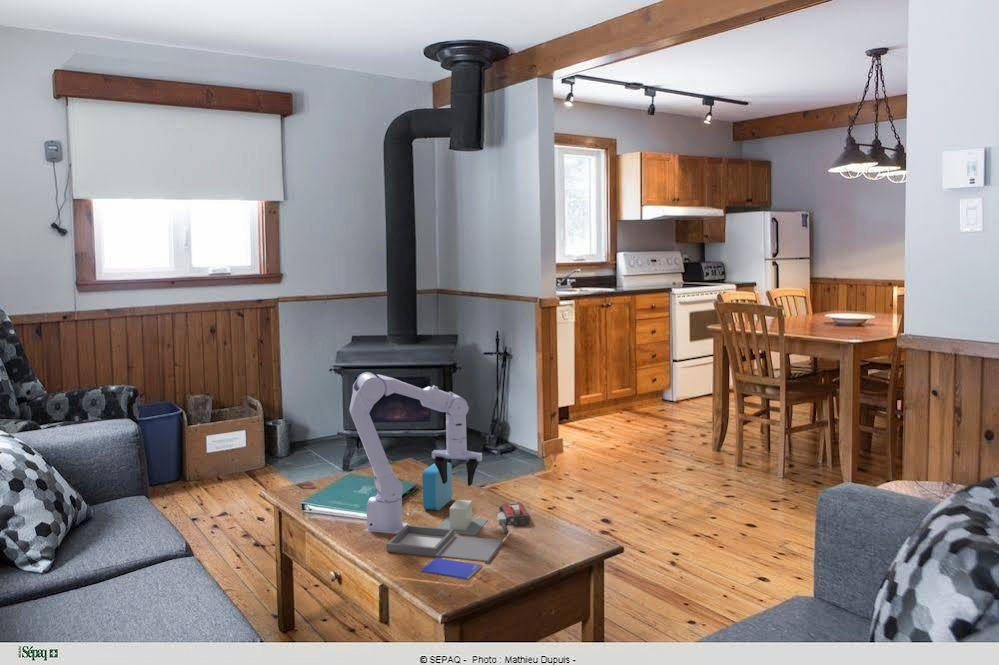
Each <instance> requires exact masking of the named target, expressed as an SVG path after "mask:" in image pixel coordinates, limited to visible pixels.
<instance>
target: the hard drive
mask: <svg viewBox="0 0 999 665" xmlns="http://www.w3.org/2000/svg"><path fill="white" fill-rule="evenodd" d="M481 568H482V564H477V563H471V562H466V561H459V560H453V559H448V558H446V559H445V558H441V557H436V558H434V559H433V560H431V561H430V562H428V564H426V565H425V566H423V568H421V570H420V572H421V573H426V574H432V575H437V576H443V577H450V578H456V579H460V580H465V581H466V580H468V579H470V578H471V577H472V576H473V575H474V574H475V573H476V572H477V571H478V570H480V569H481Z"/></svg>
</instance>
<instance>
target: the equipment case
mask: <svg viewBox="0 0 999 665" xmlns="http://www.w3.org/2000/svg"><path fill="white" fill-rule="evenodd" d="M503 543H504V540H503V539H496V538H486V537H476V536H464V535H463V536H462V535H455V533H454V529H445V528H437V527H432V526H431V527H430V526H424V525H423V526H422V525H410V524H408V525H407V526H405V527H404V528H403V529H402V530H401V531H400V532H399V533H397V534H395V536H393V537H392V538H391V539H389V541H387V542H386V546H385V547H386V552H389V553H390V552H391V553H399V554H409V555H417V556H418V555H419V556H429V557H436V558H446V559H456V560H467V561H477V562H484V564H489V563H490V561H491V559H493V557H494V556H495V554H496V553H497V552H498V550H499V549H500V548H501V546H502V545H503Z"/></svg>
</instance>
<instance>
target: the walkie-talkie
mask: <svg viewBox="0 0 999 665" xmlns="http://www.w3.org/2000/svg"><path fill="white" fill-rule="evenodd" d="M498 510H499V513H498V514H497V515H496V517H497V518H496V519H497V520H496V521H497V524H498V525H501V526H502V527H501V528H502V529H503V532H504V533H505V534H509V530H508V528H507V525H509V526H510V525H513V526H526V525H529V524H530V515H529V513H528V511H527V509H526V508H525V506H524V504H523V503H521V502H520V501H515V502H504V503H502V504H501V505H500V507H499V509H498ZM506 524H507V525H506Z"/></svg>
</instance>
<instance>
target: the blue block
mask: <svg viewBox="0 0 999 665" xmlns="http://www.w3.org/2000/svg"><path fill="white" fill-rule="evenodd" d="M452 469H453V467H452V463H451V462H447V482H446V483H445V484H443V483H442V479H441V475H440V473H439V470H438V468H437V467H436V465H435V463H433V464H431V465H430V466H428V467H427V468H426V469H424V470H423V472H422V477H421V478H422V479H421V480H422V507H423V509H425V510H429V511H430V510H431V511H440V510H441V509H442V508H444V506H445V505H447V504H448V503H450V501H451V500H452V498H453V478H452V474H453V472H452Z"/></svg>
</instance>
